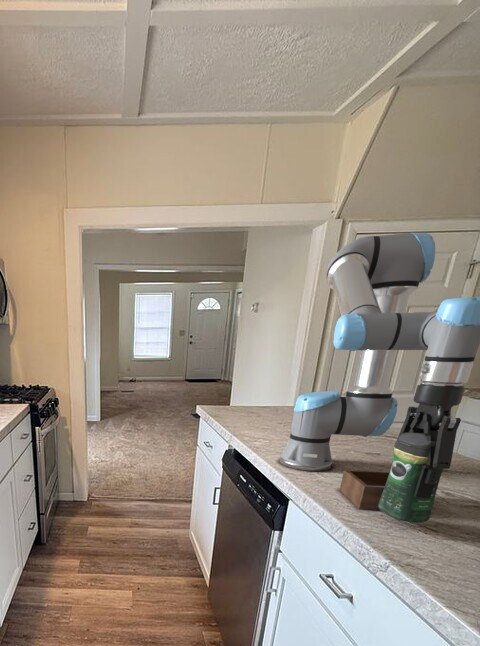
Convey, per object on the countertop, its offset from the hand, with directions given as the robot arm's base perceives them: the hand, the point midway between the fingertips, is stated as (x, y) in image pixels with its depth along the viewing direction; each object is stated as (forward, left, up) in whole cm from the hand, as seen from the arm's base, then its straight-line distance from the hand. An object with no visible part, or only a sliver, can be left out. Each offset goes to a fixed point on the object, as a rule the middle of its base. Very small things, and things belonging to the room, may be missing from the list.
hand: (409, 489), depth 88 cm
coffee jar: (0, 0, -7) cm, 7 cm away
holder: (-14, +2, -8) cm, 17 cm away
